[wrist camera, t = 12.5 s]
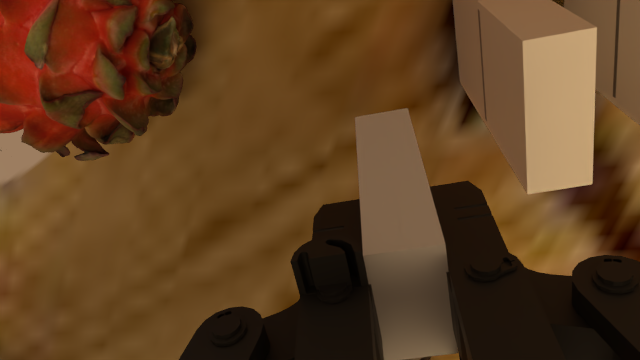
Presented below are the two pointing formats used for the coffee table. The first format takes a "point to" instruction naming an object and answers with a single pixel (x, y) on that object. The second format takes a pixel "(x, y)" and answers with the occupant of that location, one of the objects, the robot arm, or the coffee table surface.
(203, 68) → the coffee table surface
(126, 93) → the dragon fruit
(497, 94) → the domino
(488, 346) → the robot arm
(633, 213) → the coffee table surface
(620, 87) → the domino
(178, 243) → the coffee table surface
